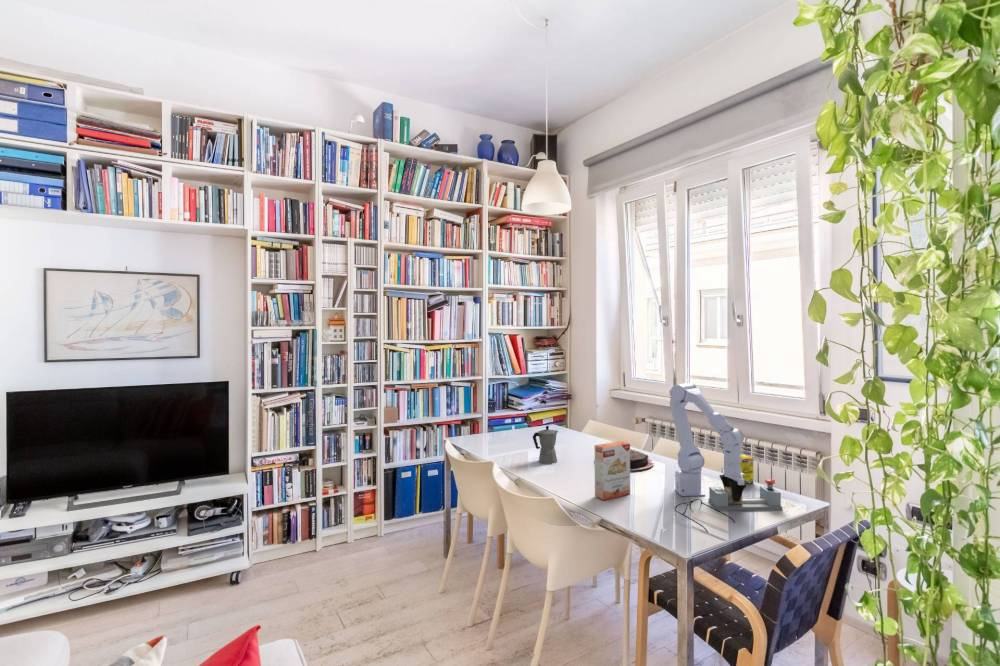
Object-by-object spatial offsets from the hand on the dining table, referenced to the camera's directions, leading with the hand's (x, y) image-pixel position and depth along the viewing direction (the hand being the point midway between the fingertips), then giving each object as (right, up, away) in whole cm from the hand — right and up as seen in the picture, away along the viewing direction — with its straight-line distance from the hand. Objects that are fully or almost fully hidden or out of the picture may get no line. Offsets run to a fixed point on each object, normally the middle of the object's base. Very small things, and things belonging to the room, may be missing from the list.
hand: (732, 497), depth 181 cm
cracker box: (-42, -4, +13) cm, 44 cm away
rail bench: (+4, -3, 0) cm, 5 cm away
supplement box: (+17, -2, +26) cm, 31 cm away
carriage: (0, -1, 0) cm, 2 cm away
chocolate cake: (-26, -3, +56) cm, 62 cm away
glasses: (-16, -5, -12) cm, 20 cm away
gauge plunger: (+14, +3, 0) cm, 14 cm away
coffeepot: (-64, -3, +61) cm, 89 cm away
